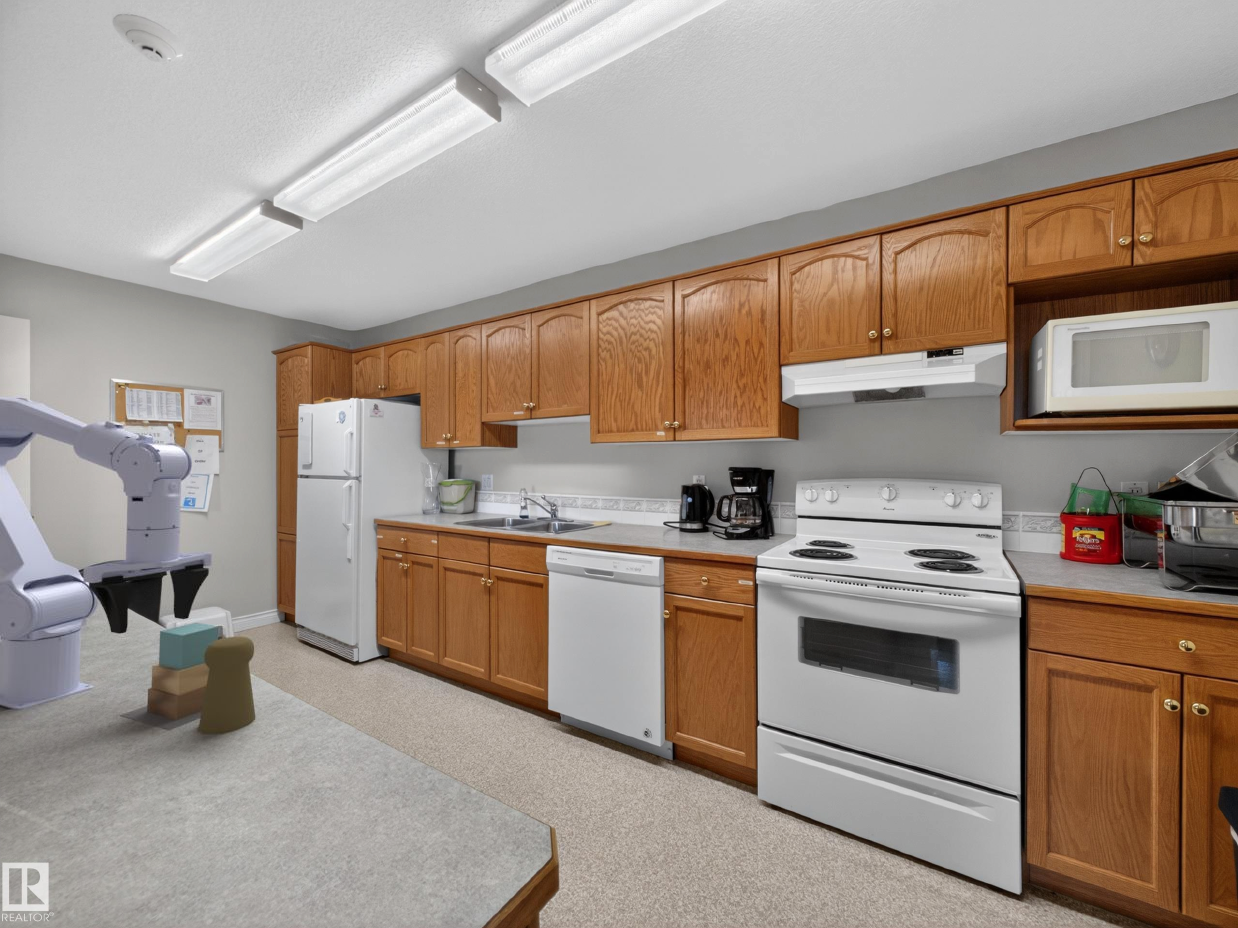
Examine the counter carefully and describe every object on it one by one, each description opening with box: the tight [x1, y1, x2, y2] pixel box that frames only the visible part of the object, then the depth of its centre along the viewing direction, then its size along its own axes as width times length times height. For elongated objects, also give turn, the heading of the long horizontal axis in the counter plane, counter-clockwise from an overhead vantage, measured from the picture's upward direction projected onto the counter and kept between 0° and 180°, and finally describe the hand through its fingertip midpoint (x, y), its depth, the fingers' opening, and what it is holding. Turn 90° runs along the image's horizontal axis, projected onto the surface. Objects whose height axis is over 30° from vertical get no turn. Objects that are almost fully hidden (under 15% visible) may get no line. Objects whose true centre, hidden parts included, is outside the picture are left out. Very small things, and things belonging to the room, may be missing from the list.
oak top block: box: [151, 663, 209, 695], centre depth 73 cm, size 6×6×3 cm
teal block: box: [158, 622, 219, 670], centre depth 73 cm, size 4×4×4 cm
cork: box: [197, 636, 256, 735], centre depth 69 cm, size 6×6×11 cm
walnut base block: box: [146, 686, 206, 720], centre depth 73 cm, size 6×6×3 cm
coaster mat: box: [119, 705, 202, 731], centre depth 73 cm, size 10×10×1 cm
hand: (151, 624), depth 76 cm, fingers open, 7 cm apart
